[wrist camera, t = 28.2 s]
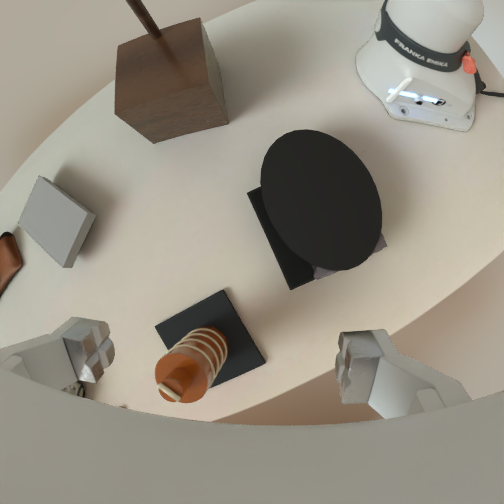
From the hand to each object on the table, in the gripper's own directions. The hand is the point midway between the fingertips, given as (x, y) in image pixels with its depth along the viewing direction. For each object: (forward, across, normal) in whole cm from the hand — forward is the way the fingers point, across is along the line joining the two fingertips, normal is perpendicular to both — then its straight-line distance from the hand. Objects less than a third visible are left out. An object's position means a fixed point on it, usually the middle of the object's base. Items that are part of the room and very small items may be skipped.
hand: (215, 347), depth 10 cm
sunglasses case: (+31, +55, +10) cm, 64 cm away
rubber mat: (+27, +8, +18) cm, 34 cm away
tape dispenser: (+32, -7, 0) cm, 33 cm away
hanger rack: (+37, +12, -17) cm, 43 cm away
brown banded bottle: (+27, +8, +18) cm, 33 cm away
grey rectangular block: (+30, +28, +4) cm, 41 cm away
